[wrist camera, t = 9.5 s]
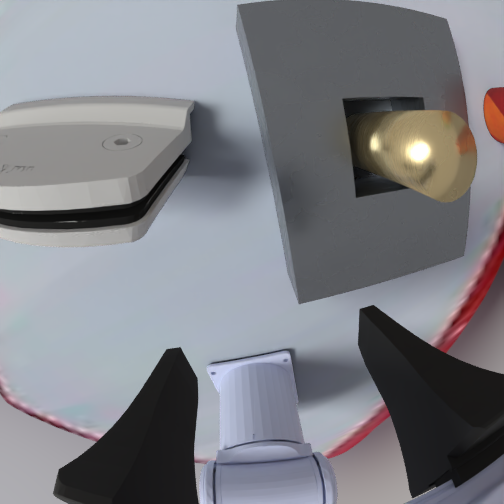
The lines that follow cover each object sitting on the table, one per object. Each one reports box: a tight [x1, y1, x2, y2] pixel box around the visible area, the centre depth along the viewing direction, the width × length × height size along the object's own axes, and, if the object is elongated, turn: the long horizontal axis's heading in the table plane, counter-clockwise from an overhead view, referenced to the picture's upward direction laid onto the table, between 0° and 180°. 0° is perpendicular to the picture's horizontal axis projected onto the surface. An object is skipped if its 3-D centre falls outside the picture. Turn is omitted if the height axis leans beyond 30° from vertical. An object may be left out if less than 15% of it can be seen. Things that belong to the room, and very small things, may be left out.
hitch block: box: [236, 0, 470, 304], centre depth 15 cm, size 18×14×4 cm
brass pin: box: [346, 110, 477, 202], centre depth 13 cm, size 4×4×9 cm
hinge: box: [0, 96, 194, 247], centre depth 12 cm, size 17×5×10 cm, turn 79°
